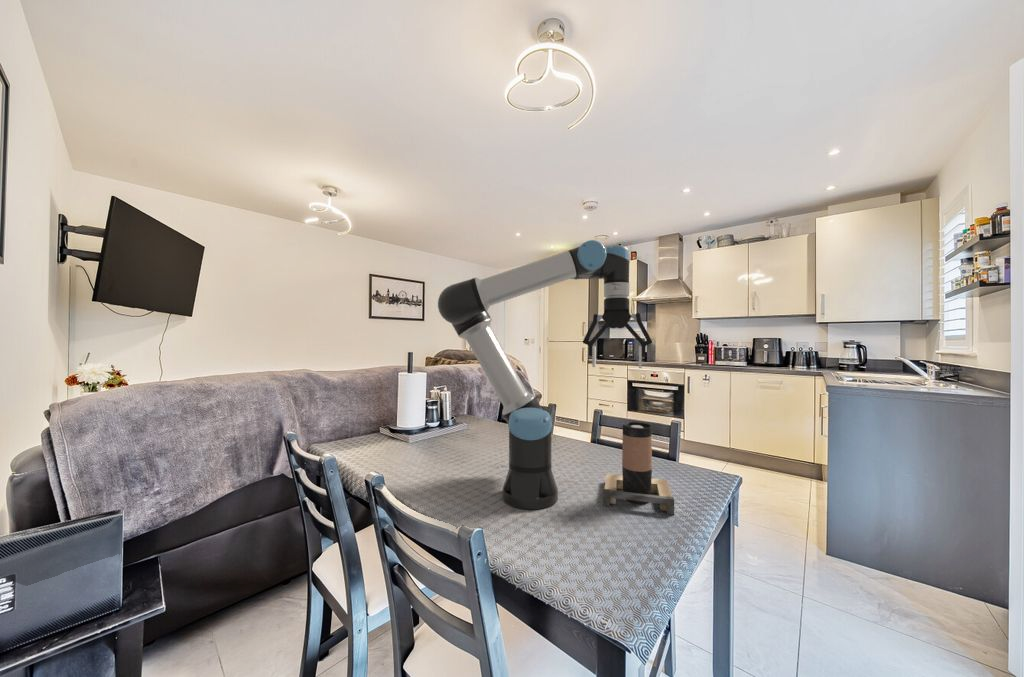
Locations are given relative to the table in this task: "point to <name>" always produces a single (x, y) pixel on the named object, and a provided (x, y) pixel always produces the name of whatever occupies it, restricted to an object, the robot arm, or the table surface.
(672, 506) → the wooden arch frame
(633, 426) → the travel mug
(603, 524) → the table surface
